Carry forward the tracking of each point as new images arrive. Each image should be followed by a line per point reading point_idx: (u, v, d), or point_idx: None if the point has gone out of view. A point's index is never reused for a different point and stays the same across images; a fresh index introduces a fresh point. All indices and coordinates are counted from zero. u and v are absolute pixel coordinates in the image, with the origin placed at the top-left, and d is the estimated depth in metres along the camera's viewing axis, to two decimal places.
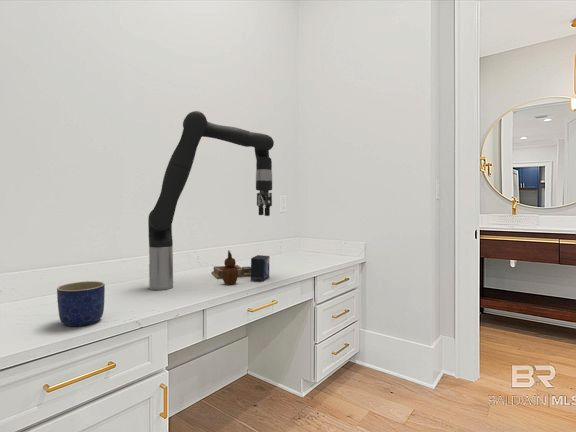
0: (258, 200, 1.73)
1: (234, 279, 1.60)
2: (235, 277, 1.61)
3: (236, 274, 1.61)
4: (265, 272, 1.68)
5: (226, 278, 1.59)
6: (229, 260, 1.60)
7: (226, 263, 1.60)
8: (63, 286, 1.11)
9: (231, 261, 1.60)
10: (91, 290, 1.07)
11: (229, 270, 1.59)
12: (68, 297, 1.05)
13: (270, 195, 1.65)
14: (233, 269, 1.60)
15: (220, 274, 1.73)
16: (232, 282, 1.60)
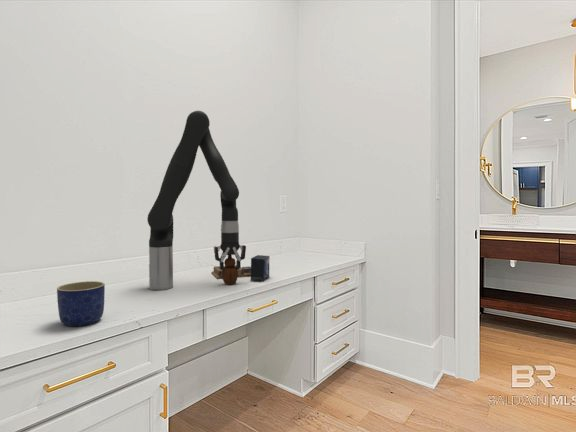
0: (225, 254, 1.59)
1: (234, 279, 1.60)
2: (235, 277, 1.61)
3: (236, 274, 1.61)
4: (265, 272, 1.68)
5: (226, 278, 1.59)
6: (229, 260, 1.60)
7: (226, 263, 1.60)
8: (63, 286, 1.11)
9: (231, 261, 1.60)
10: (91, 290, 1.07)
11: (229, 270, 1.59)
12: (68, 297, 1.05)
13: None
14: (233, 269, 1.60)
15: (220, 274, 1.73)
16: (232, 282, 1.60)
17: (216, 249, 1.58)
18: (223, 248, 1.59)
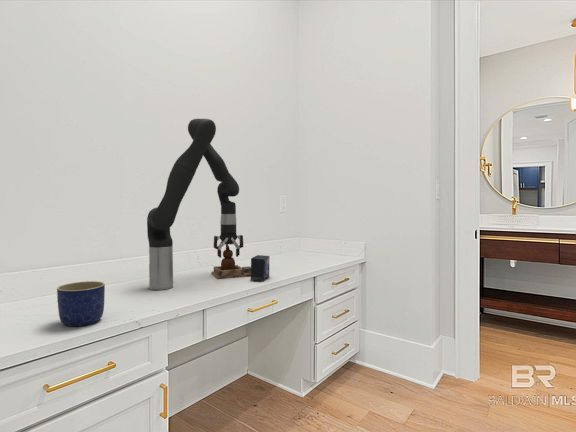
0: (223, 243, 1.78)
1: (232, 268, 1.79)
2: (233, 267, 1.80)
3: (233, 264, 1.80)
4: (265, 272, 1.68)
5: (224, 267, 1.78)
6: (227, 251, 1.78)
7: (224, 254, 1.78)
8: (63, 286, 1.11)
9: (229, 253, 1.79)
10: (91, 290, 1.07)
11: (227, 260, 1.78)
12: (68, 297, 1.05)
13: None
14: (231, 259, 1.79)
15: (220, 274, 1.73)
16: None
17: (216, 238, 1.77)
18: (222, 238, 1.78)
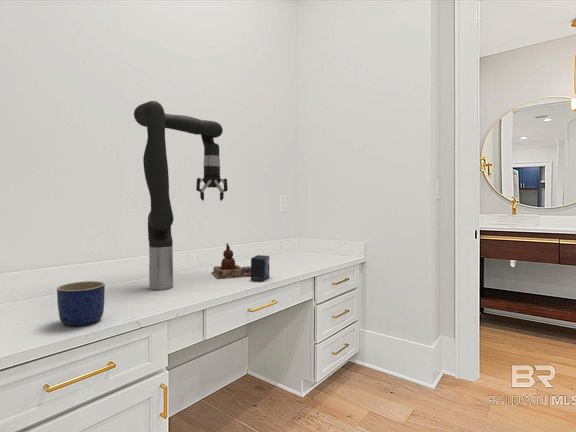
0: (206, 185, 1.73)
1: (232, 269, 1.79)
2: (233, 267, 1.80)
3: (234, 264, 1.80)
4: (265, 272, 1.68)
5: (225, 267, 1.78)
6: (227, 252, 1.79)
7: (225, 254, 1.78)
8: (63, 286, 1.11)
9: (229, 253, 1.79)
10: (91, 290, 1.07)
11: (227, 260, 1.78)
12: (68, 297, 1.05)
13: None
14: (231, 260, 1.79)
15: (220, 274, 1.73)
16: None
17: (198, 180, 1.72)
18: (205, 180, 1.73)
